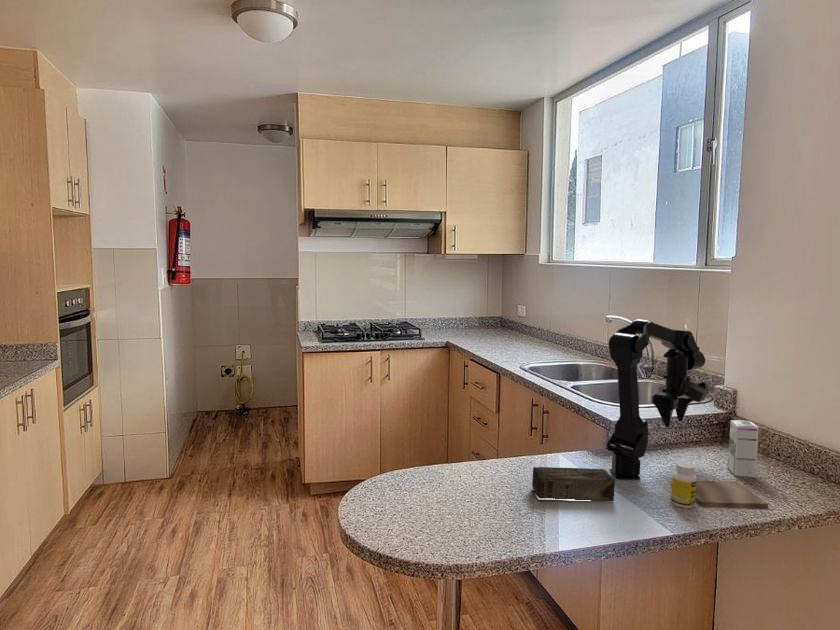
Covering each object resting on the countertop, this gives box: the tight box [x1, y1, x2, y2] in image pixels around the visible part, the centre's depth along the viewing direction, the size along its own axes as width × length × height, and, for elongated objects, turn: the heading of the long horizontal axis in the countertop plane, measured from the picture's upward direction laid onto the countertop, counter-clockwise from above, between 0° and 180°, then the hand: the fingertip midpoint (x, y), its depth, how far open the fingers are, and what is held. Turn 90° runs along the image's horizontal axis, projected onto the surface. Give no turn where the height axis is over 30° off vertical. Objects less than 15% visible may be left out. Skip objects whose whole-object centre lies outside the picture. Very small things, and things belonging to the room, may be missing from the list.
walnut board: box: [695, 479, 769, 509], centre depth 143 cm, size 16×14×1 cm
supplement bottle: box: [670, 461, 698, 509], centre depth 137 cm, size 5×5×10 cm
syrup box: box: [727, 419, 760, 478], centre depth 158 cm, size 6×6×14 cm
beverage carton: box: [531, 466, 616, 501], centre depth 141 cm, size 8×19×7 cm, turn 91°
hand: (674, 423), depth 168 cm, fingers open, 9 cm apart
